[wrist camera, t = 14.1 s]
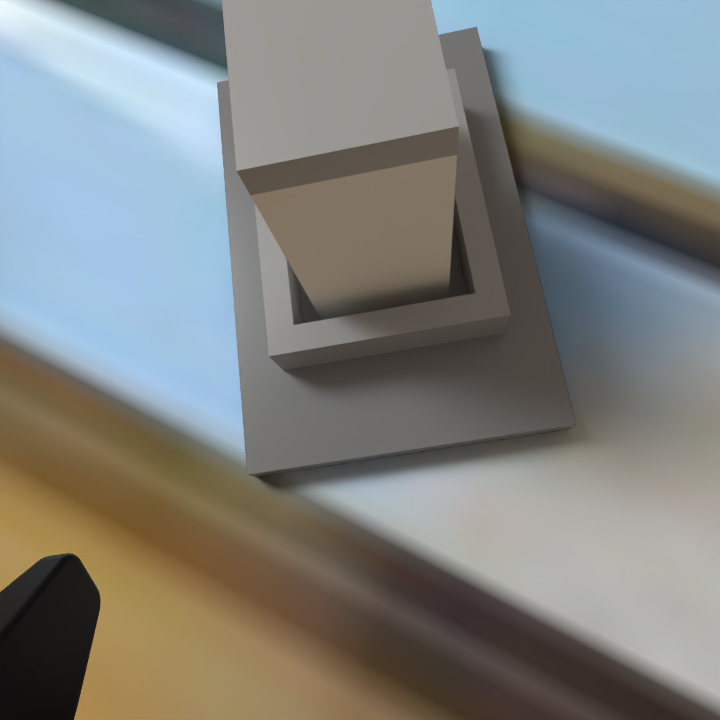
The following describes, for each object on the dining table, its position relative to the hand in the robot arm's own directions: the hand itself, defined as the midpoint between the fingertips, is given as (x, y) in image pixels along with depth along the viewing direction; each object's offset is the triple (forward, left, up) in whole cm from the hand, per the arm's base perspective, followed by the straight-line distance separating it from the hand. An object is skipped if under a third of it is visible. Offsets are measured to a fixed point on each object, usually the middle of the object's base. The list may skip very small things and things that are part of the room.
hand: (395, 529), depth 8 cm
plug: (0, +12, -13) cm, 17 cm away
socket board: (0, +12, -14) cm, 18 cm away
